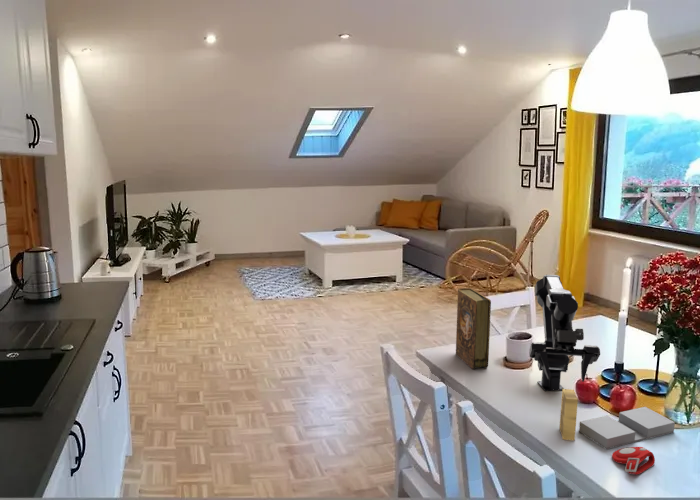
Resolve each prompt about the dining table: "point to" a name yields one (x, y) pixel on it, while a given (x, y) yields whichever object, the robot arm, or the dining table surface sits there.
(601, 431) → the slotted board
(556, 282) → the robot arm
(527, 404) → the dining table surface
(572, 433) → the ochre block
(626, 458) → the tracker holder
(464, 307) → the book
